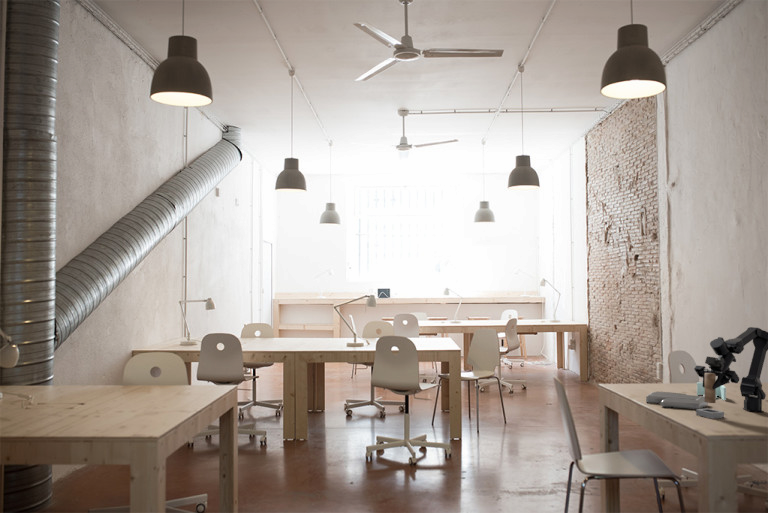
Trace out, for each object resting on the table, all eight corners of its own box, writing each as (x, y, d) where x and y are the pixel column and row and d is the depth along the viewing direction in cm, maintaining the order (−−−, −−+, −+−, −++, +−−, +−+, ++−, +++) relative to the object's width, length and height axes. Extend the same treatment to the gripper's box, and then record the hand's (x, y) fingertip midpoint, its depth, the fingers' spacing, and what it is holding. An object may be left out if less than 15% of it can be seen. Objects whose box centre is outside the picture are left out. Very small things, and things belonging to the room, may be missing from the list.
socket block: (707, 413, 273) (707, 408, 273) (724, 417, 266) (724, 411, 266) (696, 415, 270) (696, 409, 270) (712, 418, 262) (712, 413, 263)
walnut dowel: (712, 401, 270) (712, 372, 271) (717, 403, 266) (717, 374, 266) (702, 401, 270) (702, 372, 271) (707, 402, 266) (707, 374, 267)
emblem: (679, 388, 311) (722, 399, 284) (679, 398, 311) (722, 410, 284) (634, 389, 304) (674, 400, 277) (634, 400, 304) (673, 412, 277)
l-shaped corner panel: (696, 396, 321) (696, 382, 321) (721, 398, 316) (721, 384, 317) (699, 400, 310) (699, 385, 310) (725, 402, 305) (725, 387, 306)
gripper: (696, 348, 279) (681, 372, 274) (735, 352, 262) (719, 379, 257) (707, 364, 282) (692, 388, 277) (746, 369, 266) (731, 396, 260)
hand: (708, 387), depth 268 cm, fingers closed on walnut dowel, 4 cm apart
